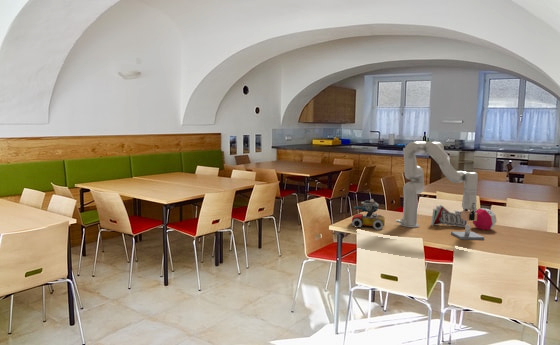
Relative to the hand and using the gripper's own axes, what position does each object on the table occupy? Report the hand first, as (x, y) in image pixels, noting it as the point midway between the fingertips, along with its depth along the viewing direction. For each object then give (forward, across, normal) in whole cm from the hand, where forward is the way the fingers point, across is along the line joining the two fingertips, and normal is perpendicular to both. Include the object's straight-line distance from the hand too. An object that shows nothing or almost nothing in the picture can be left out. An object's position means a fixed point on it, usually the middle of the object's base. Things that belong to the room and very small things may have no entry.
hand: (468, 218), depth 275 cm
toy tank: (+12, -28, -58) cm, 65 cm away
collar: (+1, 0, 0) cm, 1 cm away
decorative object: (+12, -22, +23) cm, 34 cm away
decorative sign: (+12, -30, +2) cm, 33 cm away
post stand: (+12, 0, 0) cm, 12 cm away
